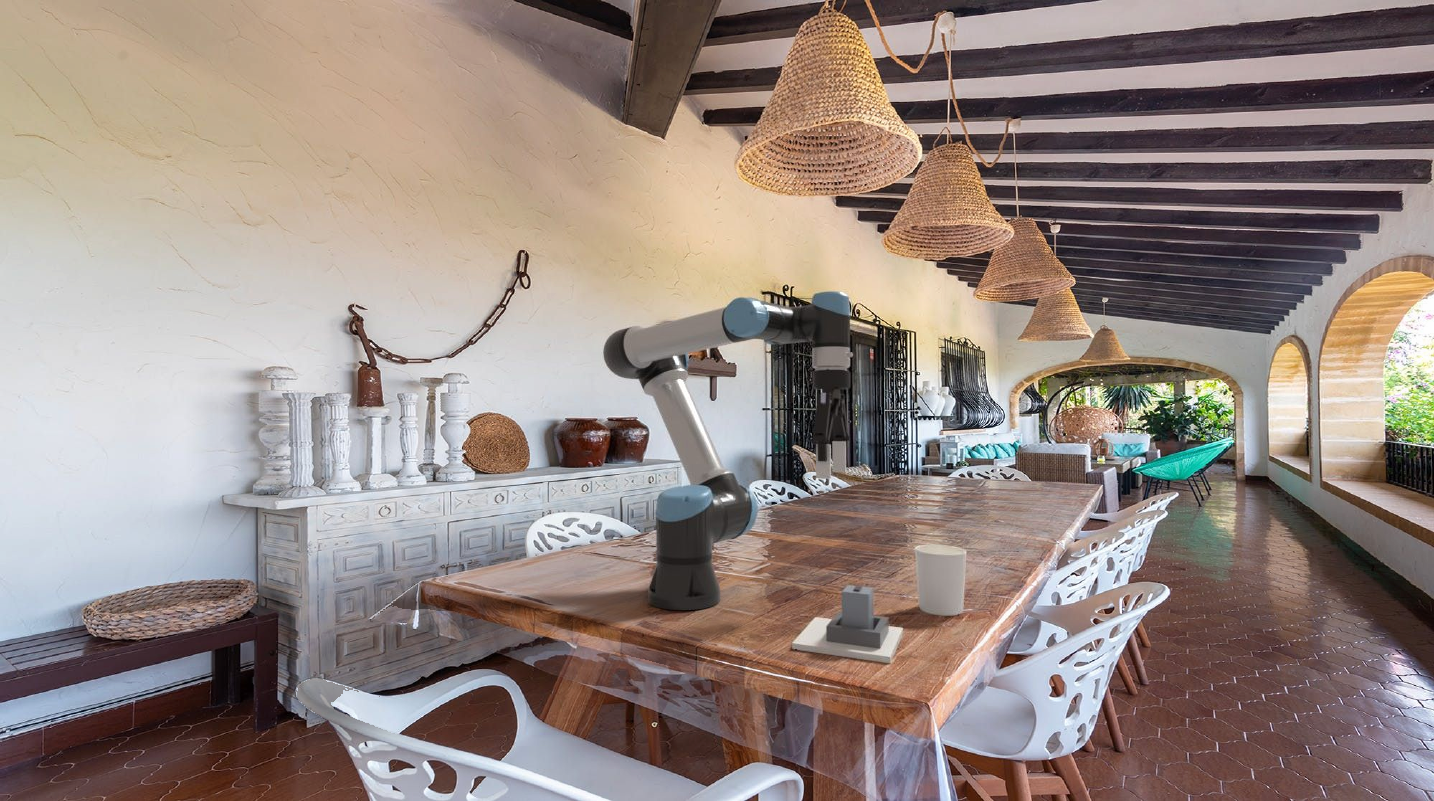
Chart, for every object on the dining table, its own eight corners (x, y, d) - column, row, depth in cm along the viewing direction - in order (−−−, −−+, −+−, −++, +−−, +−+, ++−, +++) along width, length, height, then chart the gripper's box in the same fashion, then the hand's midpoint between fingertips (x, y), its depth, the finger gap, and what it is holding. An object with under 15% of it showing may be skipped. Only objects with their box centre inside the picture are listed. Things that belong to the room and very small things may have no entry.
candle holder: (908, 611, 130) (908, 550, 131) (923, 600, 139) (923, 542, 139) (960, 620, 125) (959, 556, 125) (972, 607, 133) (971, 548, 133)
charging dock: (792, 649, 110) (792, 628, 110) (815, 622, 124) (815, 603, 124) (890, 663, 104) (890, 641, 104) (903, 633, 118) (903, 613, 118)
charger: (842, 638, 112) (841, 589, 112) (847, 630, 116) (847, 583, 116) (868, 642, 110) (868, 592, 110) (873, 634, 114) (873, 586, 115)
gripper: (835, 365, 120) (836, 482, 120) (861, 372, 143) (862, 470, 143) (795, 366, 123) (796, 480, 123) (827, 373, 146) (828, 469, 146)
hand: (831, 475), depth 133 cm, fingers open, 13 cm apart
